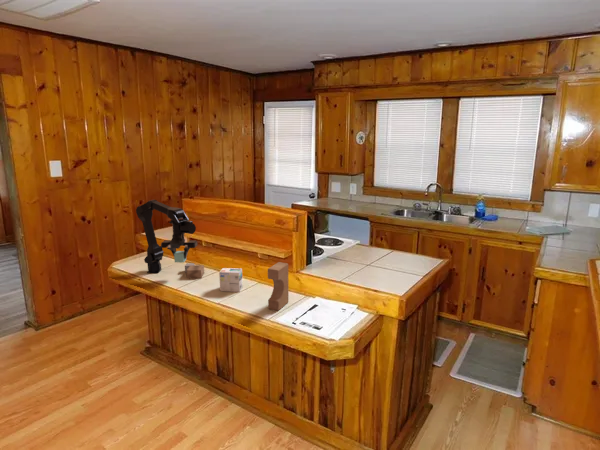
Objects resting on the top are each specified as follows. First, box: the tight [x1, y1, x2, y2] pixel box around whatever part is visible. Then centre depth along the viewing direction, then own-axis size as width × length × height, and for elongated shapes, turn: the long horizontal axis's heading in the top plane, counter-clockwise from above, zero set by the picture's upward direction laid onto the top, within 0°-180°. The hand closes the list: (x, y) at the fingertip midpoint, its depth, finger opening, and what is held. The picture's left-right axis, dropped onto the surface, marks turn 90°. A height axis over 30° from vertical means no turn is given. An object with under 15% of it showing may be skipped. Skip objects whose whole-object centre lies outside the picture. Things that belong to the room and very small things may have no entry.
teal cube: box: [173, 250, 187, 264], centre depth 223 cm, size 5×5×5 cm
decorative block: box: [267, 261, 289, 312], centre depth 189 cm, size 11×6×20 cm, turn 154°
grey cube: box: [184, 262, 195, 274], centre depth 235 cm, size 4×4×4 cm
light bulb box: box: [218, 267, 244, 293], centre depth 209 cm, size 11×7×11 cm, turn 84°
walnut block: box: [186, 264, 205, 279], centre depth 228 cm, size 8×8×5 cm
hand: (180, 258), depth 223 cm, fingers closed on teal cube, 5 cm apart
